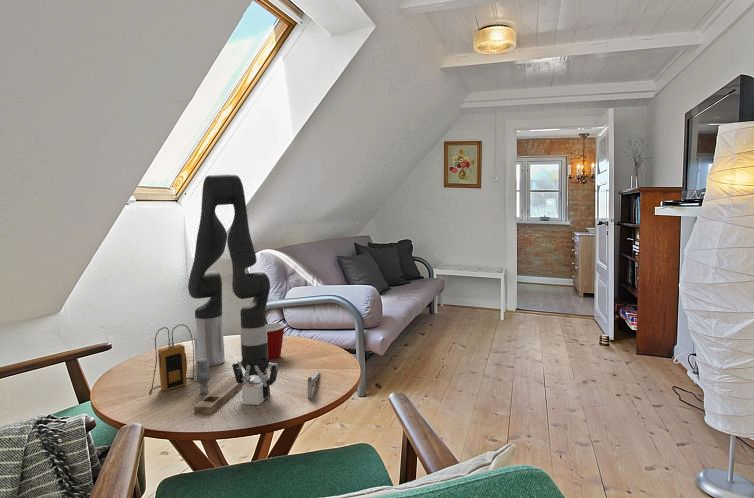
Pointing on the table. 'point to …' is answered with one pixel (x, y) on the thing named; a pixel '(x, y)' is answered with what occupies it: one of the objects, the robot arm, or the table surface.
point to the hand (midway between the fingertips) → (257, 396)
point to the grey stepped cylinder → (203, 375)
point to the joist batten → (217, 397)
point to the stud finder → (253, 392)
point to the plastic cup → (274, 339)
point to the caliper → (312, 384)
